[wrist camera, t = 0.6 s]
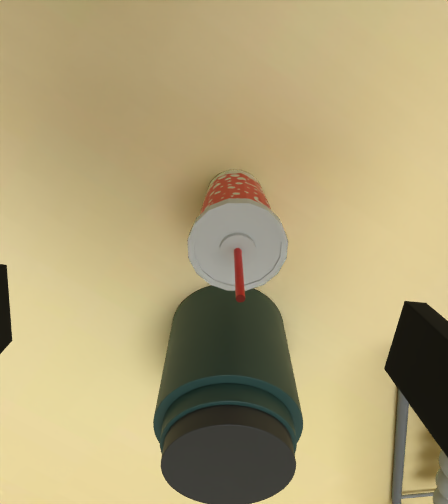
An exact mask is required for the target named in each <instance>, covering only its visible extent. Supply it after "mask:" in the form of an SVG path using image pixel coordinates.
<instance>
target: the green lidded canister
mask: <svg viewBox="0 0 448 504" xmlns="http://www.w3.org/2000/svg"><path fill="white" fill-rule="evenodd" d="M153 423H154V431H155V435H156V437H157V440H158V441H159V443H160V448H161V453H162V459H161V470H162V474H163V476H164V478H165V480H166V481H167V482H168V484H169V485H170V486H171V487H172V488H173V489H175V490H176V491H177V492H179V493H180V494H182V495H184V496H186V497H188V498H190V499H193V500H195V501H199V502H202V503H207V504H251V503H255V502H259V501H262V500H265V499H267V498H269V497H271V496H273V495H275V494H277V493H278V492H280V491H281V490H282V489H284V488H285V487H286V486H287V485H288V484H289V482H290V481H291V480H292V478H293V476H294V473H295V469H296V461H295V455H294V454H295V451H296V446H297V442H298V440H299V438H300V436H301V433H302V429H303V418H302V413H301V408H300V403H299V398H298V393H297V388H296V383H295V379H294V374H293V369H292V364H291V359H290V354H289V349H288V344H287V339H286V335H285V330H284V325H283V320H282V317H281V314H280V312H279V310H278V308H277V307H276V305H275V304H274V303H273V302H272V301H271V300H270V299H269V298H268V297H267V296H265V295H264V294H263V293H261V292H259V291H257V290H255V289H253V288H252V289H249V290H246V291H245V301H244V302H237V301H236V294H235V291H227V290H224V289H221V288H219V287H216V286H213V285H212V286H209V287H205V288H203V289H200V290H198V291H196V292H194V293H193V294H191V295H190V296H189V297H187V298H186V299H185V300H184V301H183V302H182V303H181V304H180V306H179V307H178V309H177V310H176V312H175V315H174V317H173V322H172V327H171V332H170V337H169V343H168V348H167V353H166V358H165V363H164V369H163V374H162V379H161V384H160V389H159V394H158V400H157V405H156V410H155V415H154V421H153Z"/></svg>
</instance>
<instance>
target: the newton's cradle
mask: <svg viewBox="0 0 448 504" xmlns="http://www.w3.org/2000/svg"><path fill="white" fill-rule="evenodd" d="M408 408H409V403H408V401H407V400H406V399H405V397H404V396H403V394H402V393H401V392H400V390H399V389H398V403H397V419H396V435H395V452H394V468H393V484H392V504H401V499H404V498H415V497H425V496H433V503H434V504H448V457H447V456H446V455H445V453H444V452H443V450H442V451H441V452H440V455H439V465H440V467H441V468H440V469H439V471H438V472H437V474H436V485H437V488H436V489H435V491H434V492H430V493H419V494H408V495H401V492H402V480H403V468H404V456H405V444H406V432H407V420H408Z"/></svg>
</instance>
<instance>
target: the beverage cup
mask: <svg viewBox="0 0 448 504" xmlns="http://www.w3.org/2000/svg"><path fill="white" fill-rule="evenodd" d="M287 247H288V239H287V236H286V234H285V231H284V228H283V226H282V223H281V221H280V219H279V218H278V217H277V216H276V215H275V214H274V213H273V212H272V210H271V208H270V206H269V204H268V201H267V199H266V197H265V195H264V193H263V190H262V188H261V186H260V184H259V182H258V181H257V180H256V179H255V178H254V177H253V176H252V175H251V174H249V173H247V172H244V171H242V170H228V171H226V172H223V173H221V174H219V175H217V176H216V177H215V178H214V179H213V180H212V181H211V183H210V185H209V188H208V190H207V193H206V196H205V199H204V202H203V206H202V209H201V212H200V215H199V216H198V217H197V218H196V220H195V222H194V224H193V227H192V229H191V232H190V234H189V237H188V258H189V260H190V262H191V264H192V266H193V268H194V269H195V271H196V273H197V274H198V275H199V276H200V277H202V278H203V279H204V280H205V281H206V282H208V283H209V284H210V285H213V286H216V287H219V288H221V289H224V290H227V291H235V294H236V301H237V302H244V301H245V291H246V290H249V289H252V288H255V287H258V286H261V285H264V284H265V283H266V282H268V281H269V280H270V279H272V278H273V277H274V276H275V275H277V274H278V272H279V270H280V269H281V267H282V265H283V264H284V262H285V260H286V258H287Z"/></svg>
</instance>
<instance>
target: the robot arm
mask: <svg viewBox="0 0 448 504" xmlns="http://www.w3.org/2000/svg"><path fill="white" fill-rule="evenodd" d="M11 341H12V332H11V318H10V305H9V291H8V278H7V265H3V264H0V354H1V353H2V351H3V350H4V349H5V348H6V347H7V346H8V345H9V344H10V342H11ZM384 369H385V371H386V372H387V373H388V375H389V376H390V378H391V379H392V380H393V382H394V383H395V385H396V386H397V387H398V389H399V390H400V392H401V393H402V394H403V396H404V397H405V399H406V400H407V401H408V403H409V404H410V406H411V407H412V408H413V410H414V411H415V413H416V414H417V415H418V417H419V418H420V420H421V421H422V422H423V424H424V425H425V427H426V428H427V429H428V431H429V432H430V434H431V435H432V436H433V438H434V439H435V441H436V442H437V443H438V445H439V446H440V448H441V449H442V450H443V452H444V453H445V455H446V456H447V457H448V321H447V320H446V319H445V318H443V317H442V316H441V315H440V314H439V313H437V312H436V311H435V310H434V309H433V308H431V307H430V306H429V305H428V304H427V303H420V302H409V301H405V302H404V305H403V309H402V312H401V315H400V319H399V322H398V325H397V328H396V332H395V335H394V338H393V342H392V345H391V348H390V352H389V355H388V358H387V361H386V365H385V368H384Z"/></svg>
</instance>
